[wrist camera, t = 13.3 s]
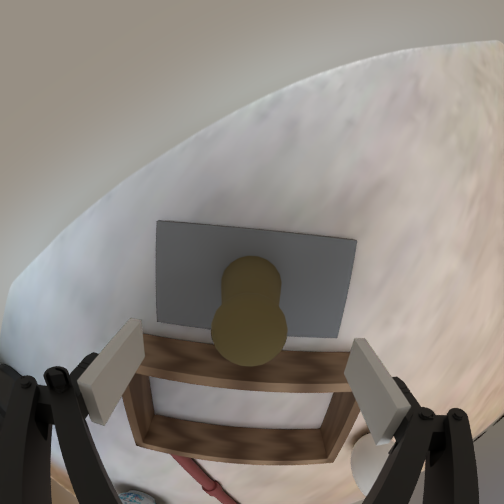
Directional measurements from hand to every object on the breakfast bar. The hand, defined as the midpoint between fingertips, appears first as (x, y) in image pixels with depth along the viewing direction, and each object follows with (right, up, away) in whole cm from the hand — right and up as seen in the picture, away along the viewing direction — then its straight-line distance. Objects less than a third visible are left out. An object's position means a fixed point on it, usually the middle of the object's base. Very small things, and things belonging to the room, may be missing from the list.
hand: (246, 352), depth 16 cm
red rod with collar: (-5, -43, +23) cm, 49 cm away
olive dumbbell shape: (0, +3, +12) cm, 12 cm away
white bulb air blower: (+19, -24, +18) cm, 35 cm away
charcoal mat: (0, +3, +12) cm, 13 cm away
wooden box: (-1, -12, +16) cm, 20 cm away
